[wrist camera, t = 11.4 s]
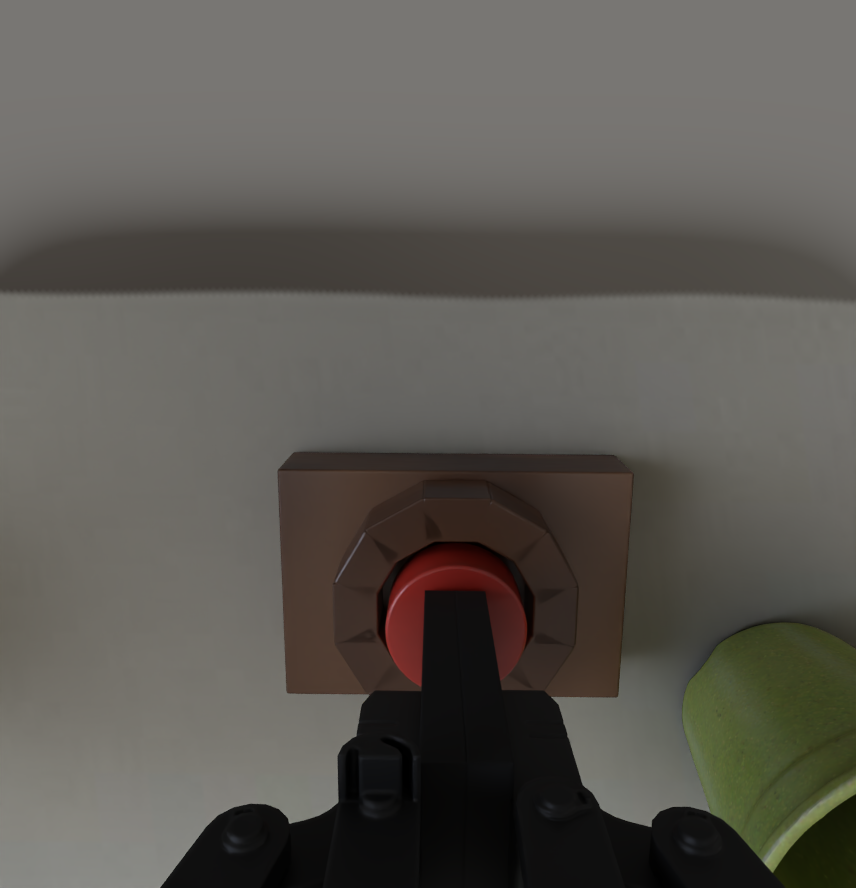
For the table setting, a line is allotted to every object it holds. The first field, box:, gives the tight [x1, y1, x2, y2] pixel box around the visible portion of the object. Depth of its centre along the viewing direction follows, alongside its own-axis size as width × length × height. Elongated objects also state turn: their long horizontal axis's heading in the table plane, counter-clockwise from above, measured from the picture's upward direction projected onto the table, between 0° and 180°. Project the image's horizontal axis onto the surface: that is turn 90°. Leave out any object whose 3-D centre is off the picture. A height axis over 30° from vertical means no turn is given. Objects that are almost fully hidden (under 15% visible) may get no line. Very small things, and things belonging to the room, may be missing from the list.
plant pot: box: [682, 622, 856, 888], centre depth 19 cm, size 9×9×9 cm
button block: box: [278, 452, 634, 697], centre depth 21 cm, size 10×7×4 cm
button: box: [385, 542, 527, 687], centre depth 19 cm, size 4×4×2 cm
